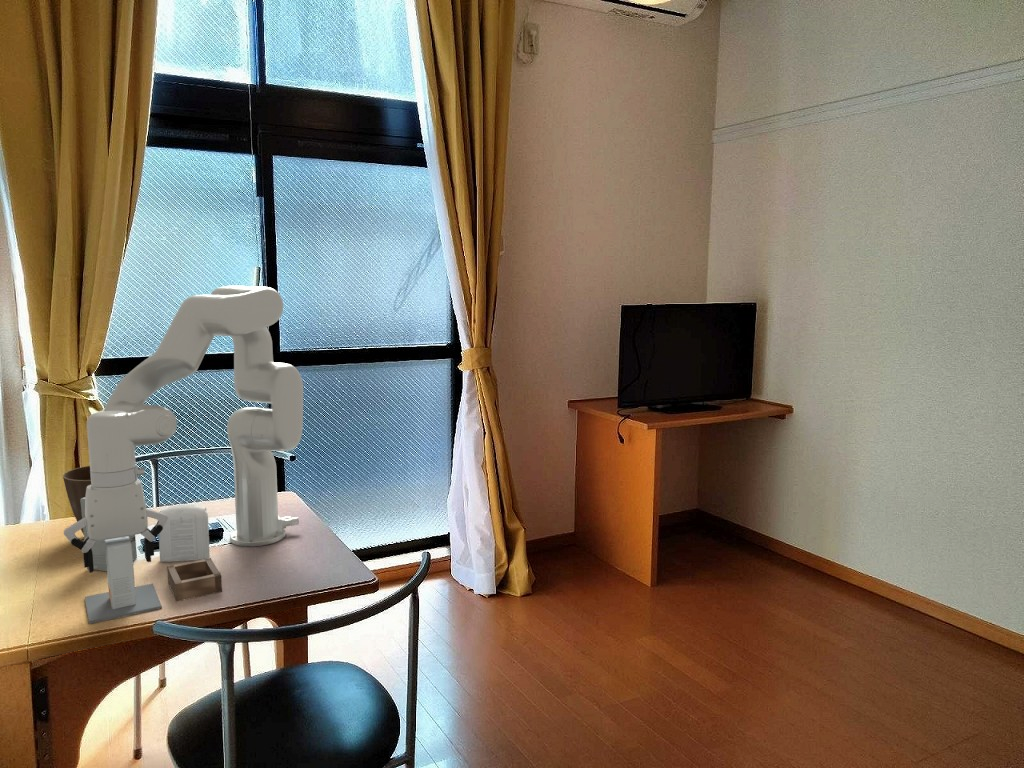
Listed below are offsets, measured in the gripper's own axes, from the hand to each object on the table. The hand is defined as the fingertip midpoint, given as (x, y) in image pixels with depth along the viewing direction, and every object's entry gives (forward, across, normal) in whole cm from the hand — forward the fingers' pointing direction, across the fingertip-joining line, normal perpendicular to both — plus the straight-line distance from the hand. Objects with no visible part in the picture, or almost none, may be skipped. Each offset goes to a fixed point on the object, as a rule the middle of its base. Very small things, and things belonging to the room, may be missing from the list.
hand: (120, 564), depth 140 cm
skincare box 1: (+8, 0, -23) cm, 24 cm away
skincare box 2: (+7, 0, 0) cm, 7 cm away
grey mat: (+8, 0, 0) cm, 8 cm away
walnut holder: (+8, -13, -1) cm, 15 cm away
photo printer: (+8, -14, -18) cm, 24 cm away
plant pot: (+8, 0, -43) cm, 44 cm away
